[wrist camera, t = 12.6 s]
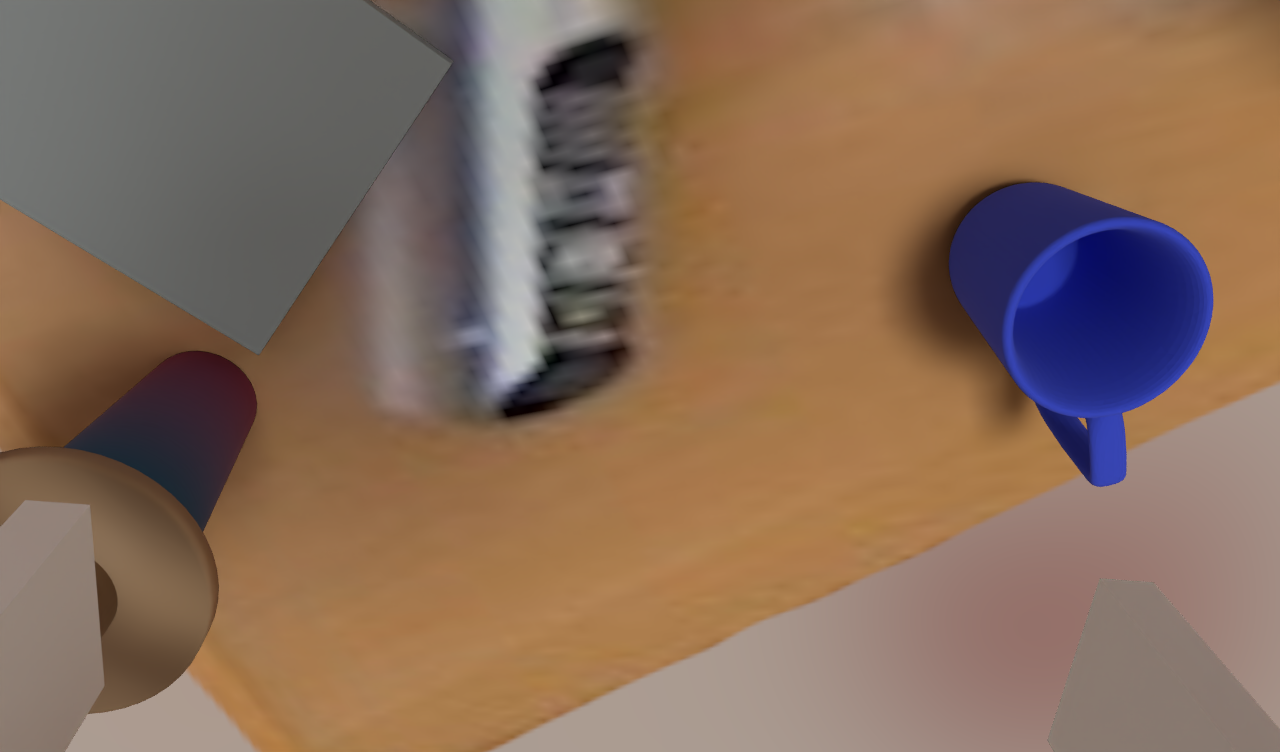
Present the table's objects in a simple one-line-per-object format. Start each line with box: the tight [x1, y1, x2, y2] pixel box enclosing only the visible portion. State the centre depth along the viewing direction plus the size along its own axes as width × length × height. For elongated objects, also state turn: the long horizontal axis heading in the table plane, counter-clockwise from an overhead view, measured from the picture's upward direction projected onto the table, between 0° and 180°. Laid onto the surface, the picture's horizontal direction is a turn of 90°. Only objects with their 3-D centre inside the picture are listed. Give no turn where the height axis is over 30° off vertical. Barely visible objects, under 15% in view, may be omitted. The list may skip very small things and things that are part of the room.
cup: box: [63, 351, 257, 532], centre depth 45 cm, size 7×7×15 cm
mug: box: [949, 183, 1213, 487], centre depth 48 cm, size 8×12×10 cm
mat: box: [0, 0, 454, 355], centre depth 47 cm, size 16×16×1 cm
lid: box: [0, 447, 219, 714], centre depth 34 cm, size 10×10×9 cm
